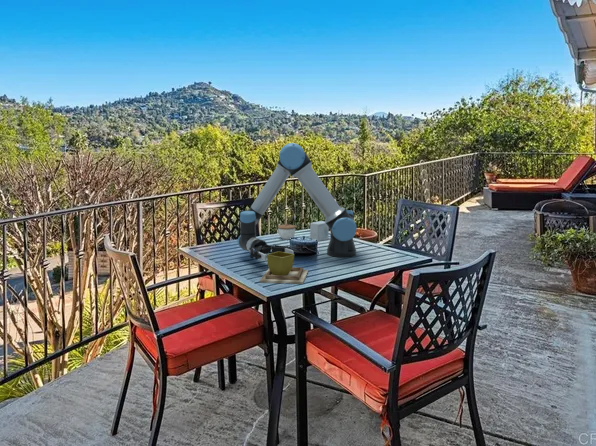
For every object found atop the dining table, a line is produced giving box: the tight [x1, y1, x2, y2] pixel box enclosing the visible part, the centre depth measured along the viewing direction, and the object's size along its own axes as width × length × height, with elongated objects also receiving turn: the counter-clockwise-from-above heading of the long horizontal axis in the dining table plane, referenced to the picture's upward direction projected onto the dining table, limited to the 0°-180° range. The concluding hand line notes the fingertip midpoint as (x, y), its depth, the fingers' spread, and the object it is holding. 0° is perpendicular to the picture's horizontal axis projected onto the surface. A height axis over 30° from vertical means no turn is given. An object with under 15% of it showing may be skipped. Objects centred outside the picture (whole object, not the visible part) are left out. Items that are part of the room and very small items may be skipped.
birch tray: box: [259, 266, 309, 285], centre depth 192 cm, size 18×18×2 cm
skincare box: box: [309, 220, 330, 242], centre depth 269 cm, size 10×6×10 cm, turn 137°
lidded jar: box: [277, 222, 296, 241], centre depth 272 cm, size 11×11×9 cm
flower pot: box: [266, 252, 295, 275], centre depth 192 cm, size 9×9×9 cm
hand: (279, 255), depth 194 cm, fingers open, 13 cm apart
